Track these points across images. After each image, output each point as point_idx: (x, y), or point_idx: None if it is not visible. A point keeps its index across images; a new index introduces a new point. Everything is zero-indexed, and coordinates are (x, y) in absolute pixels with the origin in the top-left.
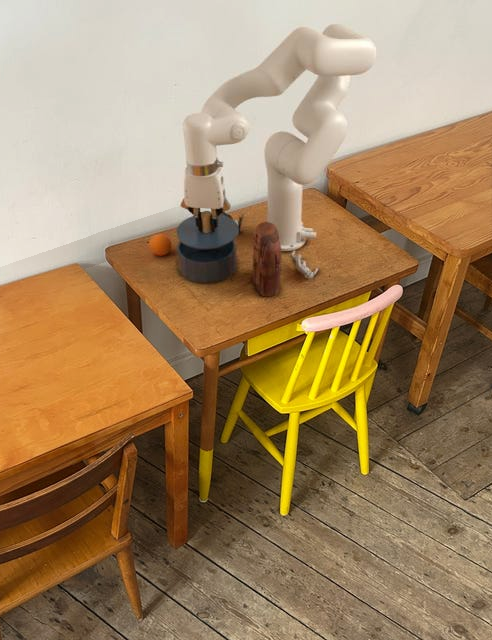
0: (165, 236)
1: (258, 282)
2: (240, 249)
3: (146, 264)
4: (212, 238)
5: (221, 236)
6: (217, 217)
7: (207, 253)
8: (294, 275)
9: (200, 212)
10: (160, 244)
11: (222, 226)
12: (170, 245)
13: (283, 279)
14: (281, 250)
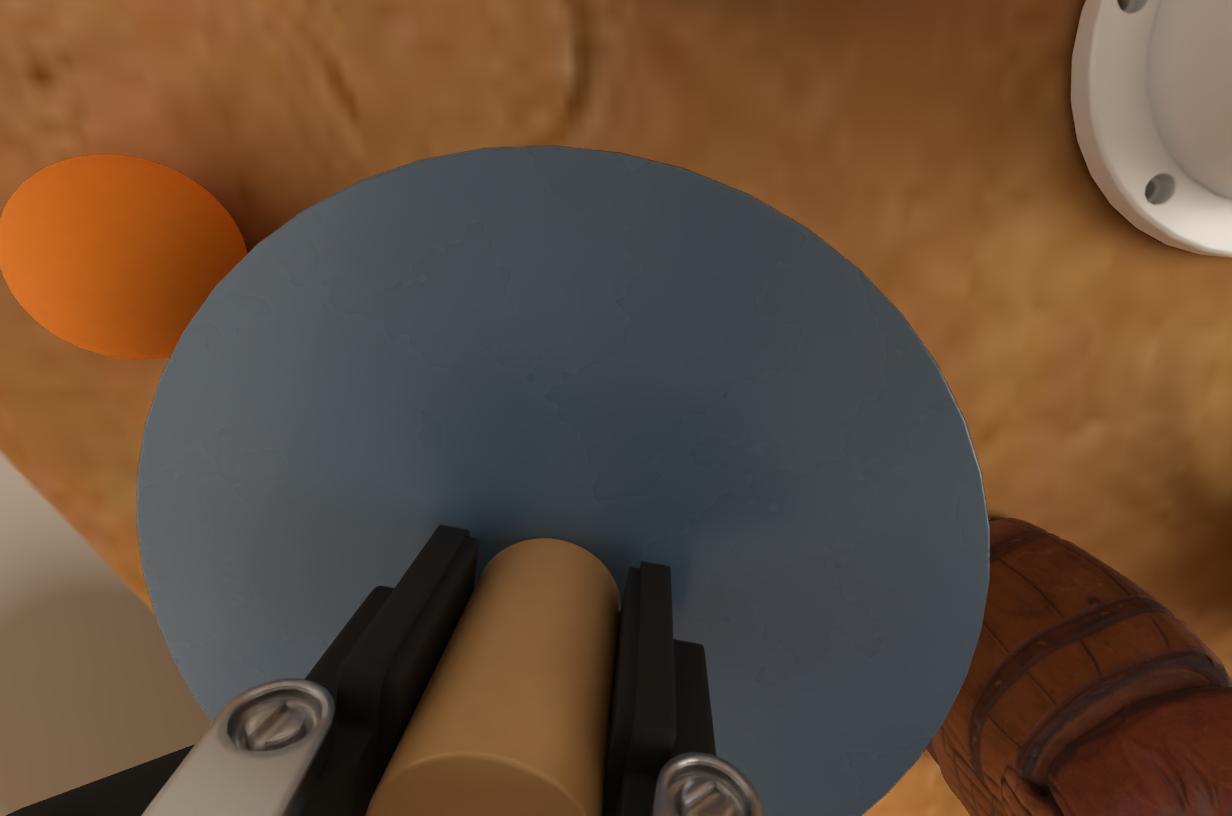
0: (117, 258)
1: (950, 786)
2: (847, 206)
3: (130, 394)
4: None
5: (734, 745)
6: (713, 748)
7: None
8: (1203, 560)
9: (348, 786)
10: (119, 351)
11: (758, 541)
12: None
13: None
14: (1209, 255)
